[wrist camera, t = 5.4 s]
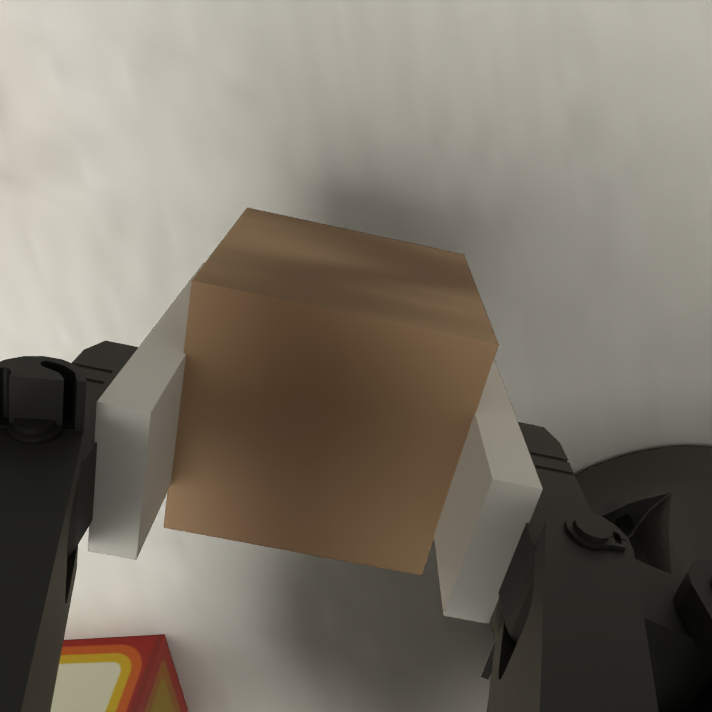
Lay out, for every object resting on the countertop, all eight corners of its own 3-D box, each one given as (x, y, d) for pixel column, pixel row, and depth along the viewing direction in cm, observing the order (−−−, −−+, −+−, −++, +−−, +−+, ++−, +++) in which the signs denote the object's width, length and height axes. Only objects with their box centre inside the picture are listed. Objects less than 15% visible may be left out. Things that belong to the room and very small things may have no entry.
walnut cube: (463, 254, 16) (498, 344, 11) (410, 437, 18) (421, 575, 13) (247, 207, 15) (191, 280, 11) (220, 399, 17) (164, 527, 13)
